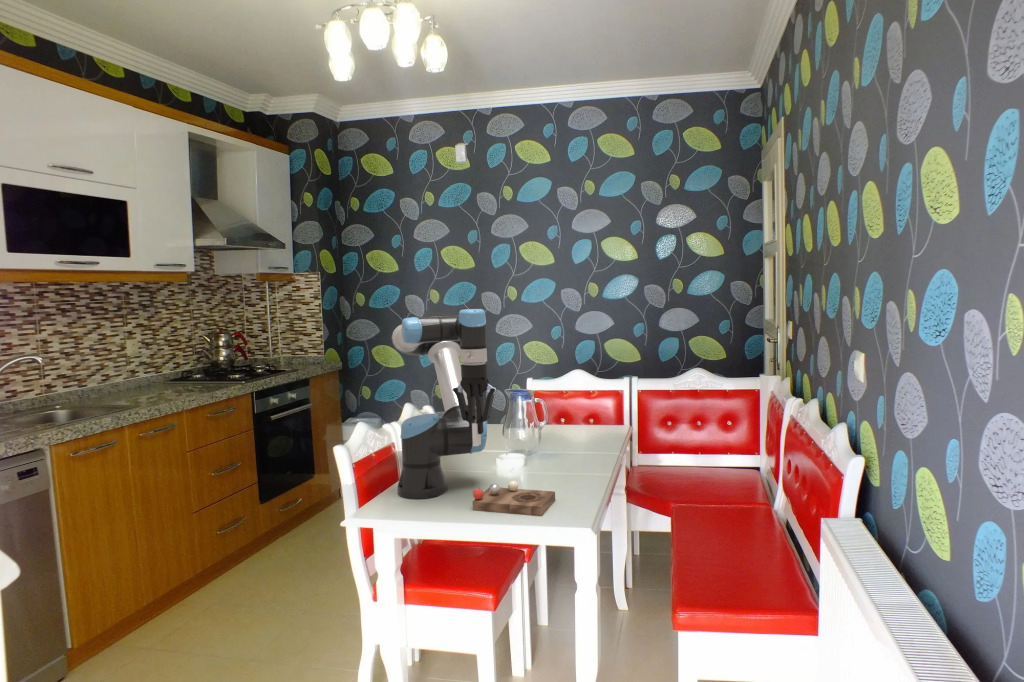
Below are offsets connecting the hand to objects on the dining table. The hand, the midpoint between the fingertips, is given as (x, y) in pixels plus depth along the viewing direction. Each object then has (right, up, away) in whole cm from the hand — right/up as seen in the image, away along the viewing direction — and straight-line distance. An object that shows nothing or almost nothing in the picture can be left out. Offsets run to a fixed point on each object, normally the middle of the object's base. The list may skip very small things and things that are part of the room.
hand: (476, 444), depth 194 cm
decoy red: (+1, -13, -4) cm, 14 cm away
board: (+11, -17, -2) cm, 20 cm away
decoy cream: (+10, -12, +3) cm, 16 cm away
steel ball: (+5, -13, 0) cm, 14 cm away
